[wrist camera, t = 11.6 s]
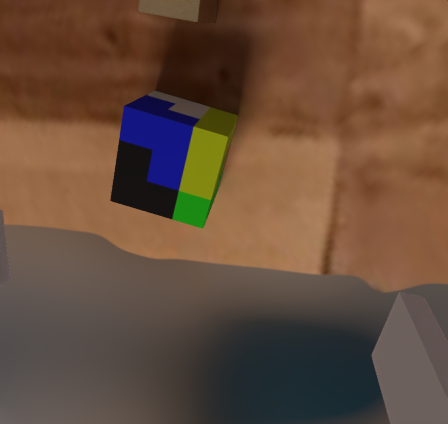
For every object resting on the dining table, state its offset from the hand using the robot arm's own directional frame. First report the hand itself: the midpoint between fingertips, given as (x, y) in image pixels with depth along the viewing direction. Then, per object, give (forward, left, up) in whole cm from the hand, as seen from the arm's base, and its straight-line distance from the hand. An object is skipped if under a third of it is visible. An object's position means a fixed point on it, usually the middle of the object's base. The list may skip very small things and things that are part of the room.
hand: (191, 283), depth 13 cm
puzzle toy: (-7, -6, -35) cm, 36 cm away
